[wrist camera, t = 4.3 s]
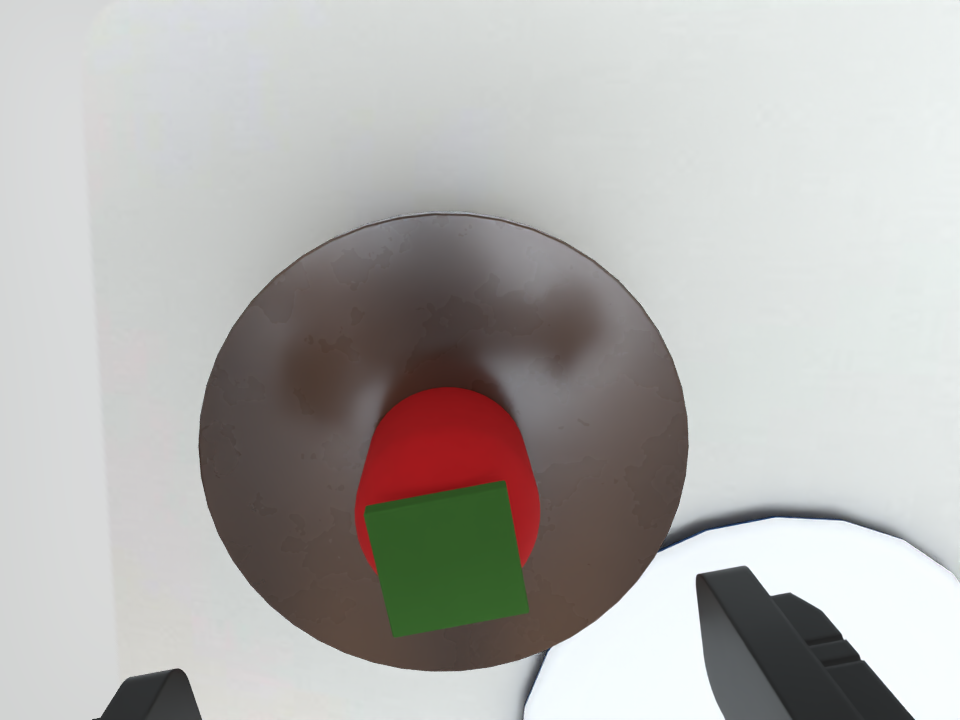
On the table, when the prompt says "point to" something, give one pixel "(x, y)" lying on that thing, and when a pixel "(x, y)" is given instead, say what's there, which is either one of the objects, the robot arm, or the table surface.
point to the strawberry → (448, 511)
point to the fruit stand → (434, 364)
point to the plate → (780, 569)
